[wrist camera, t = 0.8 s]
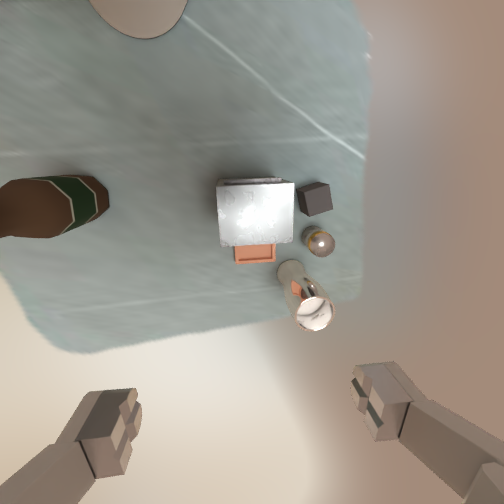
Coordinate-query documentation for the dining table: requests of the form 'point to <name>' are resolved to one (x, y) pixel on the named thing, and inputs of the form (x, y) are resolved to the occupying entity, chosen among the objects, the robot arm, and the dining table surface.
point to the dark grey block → (255, 211)
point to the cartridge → (318, 241)
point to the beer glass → (305, 297)
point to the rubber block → (314, 198)
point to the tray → (255, 253)
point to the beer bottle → (50, 205)
